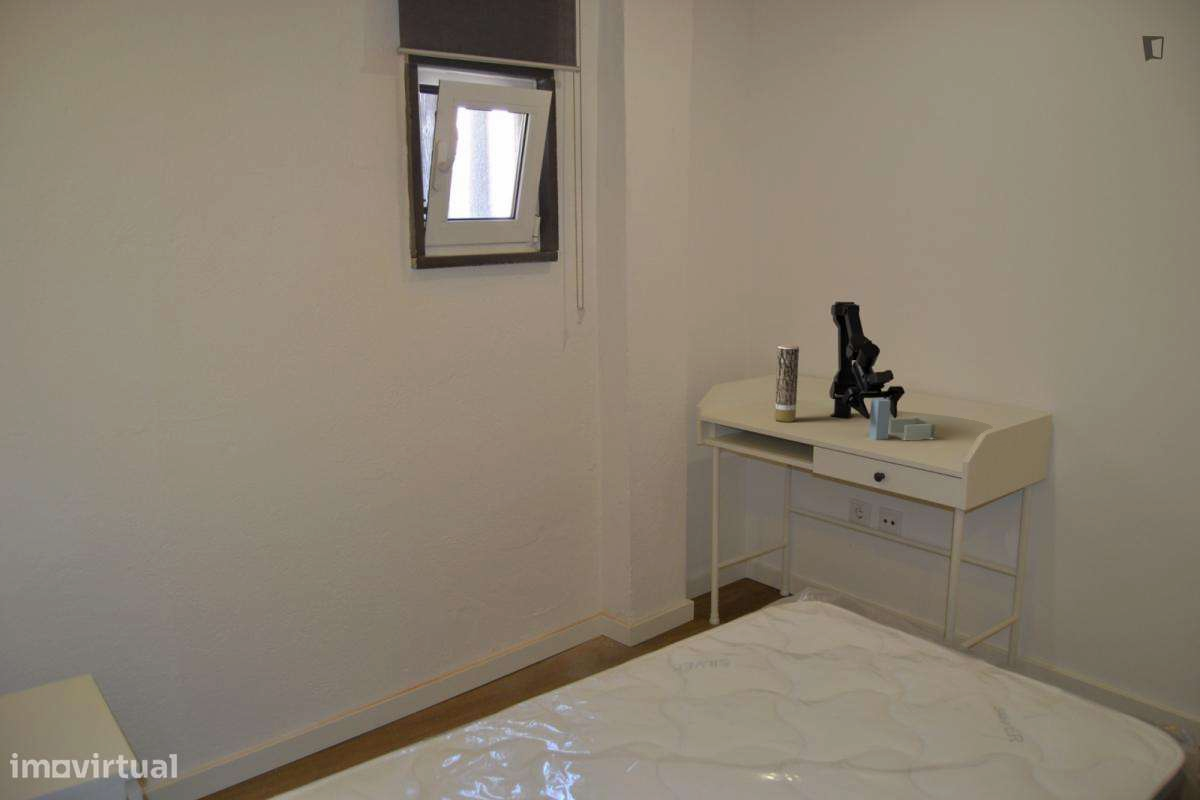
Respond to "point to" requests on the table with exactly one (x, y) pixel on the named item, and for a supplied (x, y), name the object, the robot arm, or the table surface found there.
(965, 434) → the table surface
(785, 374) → the paper tube
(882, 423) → the peg
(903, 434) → the slot bay
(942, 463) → the table surface
